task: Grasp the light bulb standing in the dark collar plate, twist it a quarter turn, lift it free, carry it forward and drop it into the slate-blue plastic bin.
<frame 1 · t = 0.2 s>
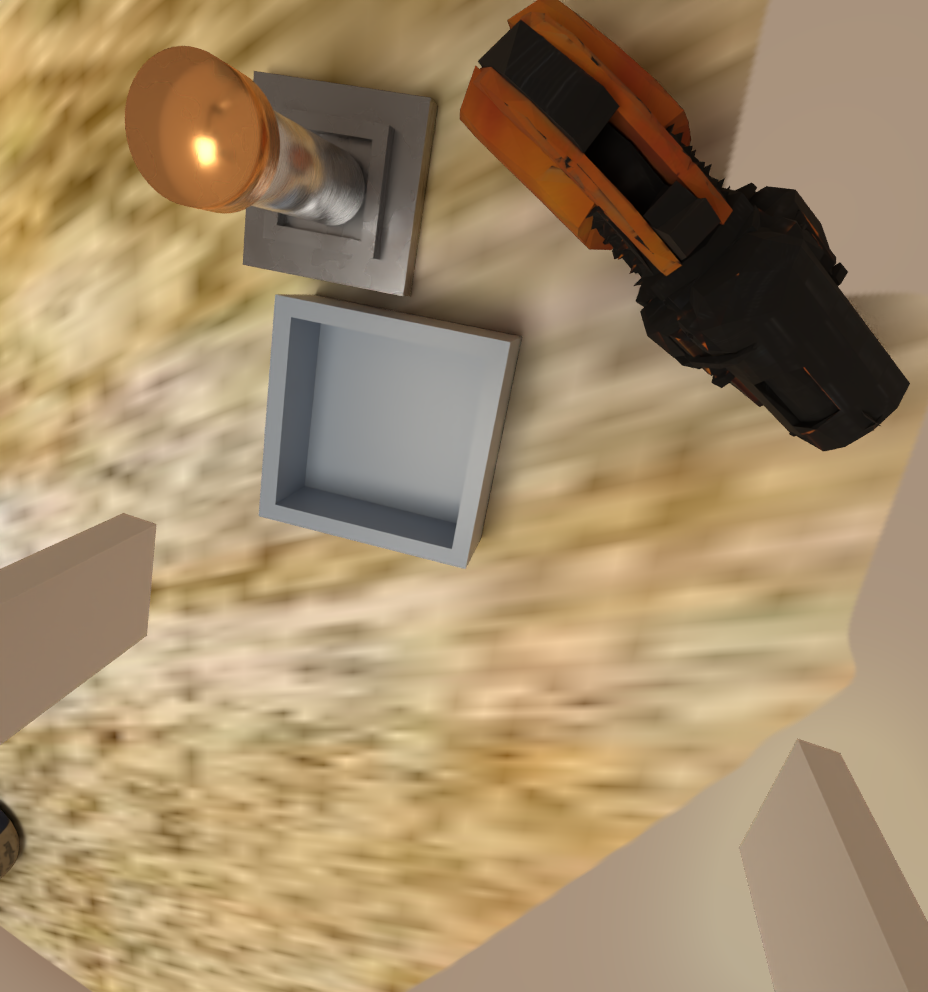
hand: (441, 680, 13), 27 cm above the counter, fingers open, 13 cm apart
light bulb: (330, 186, 35), point 1 cm above the counter, touching collar plate
tool: (671, 248, 34), on the counter
bin: (400, 420, 40), on the counter
collar plate: (340, 190, 37), on the counter
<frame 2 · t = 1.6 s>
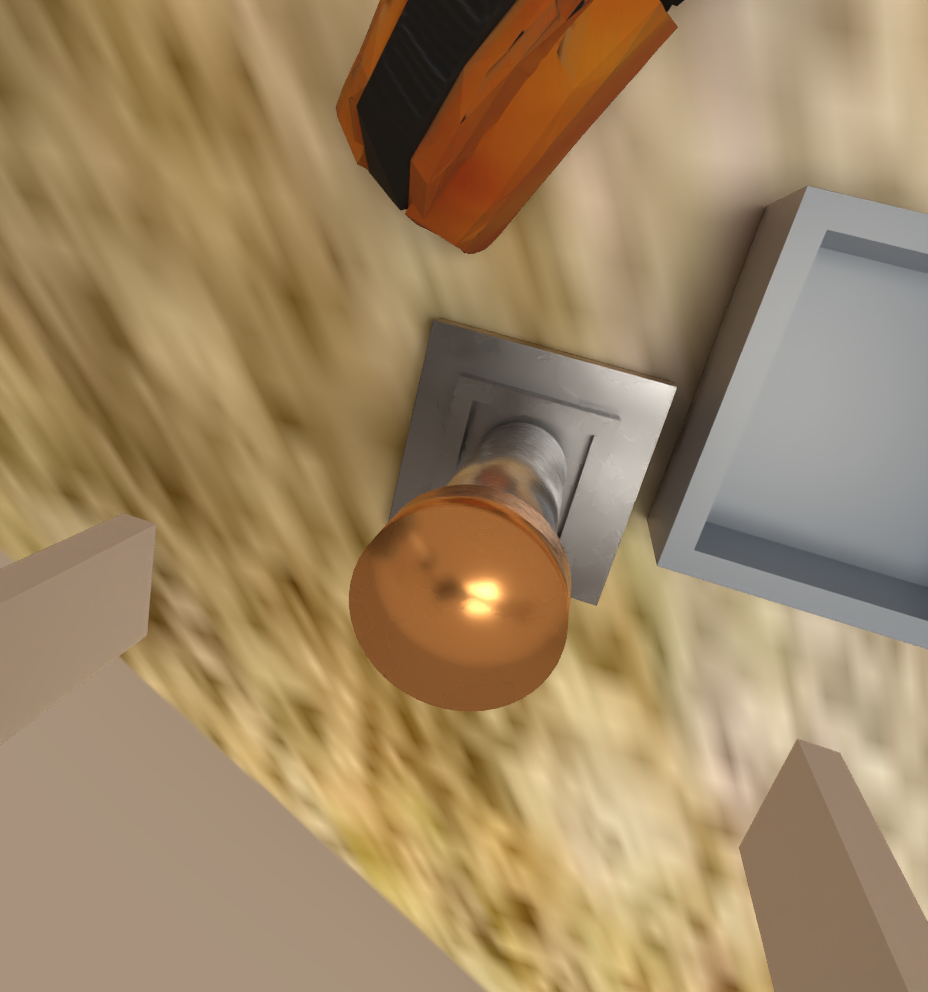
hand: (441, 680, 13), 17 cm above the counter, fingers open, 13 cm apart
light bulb: (518, 469, 27), point 1 cm above the counter, touching collar plate
bin: (864, 421, 25), on the counter
collar plate: (522, 460, 28), on the counter
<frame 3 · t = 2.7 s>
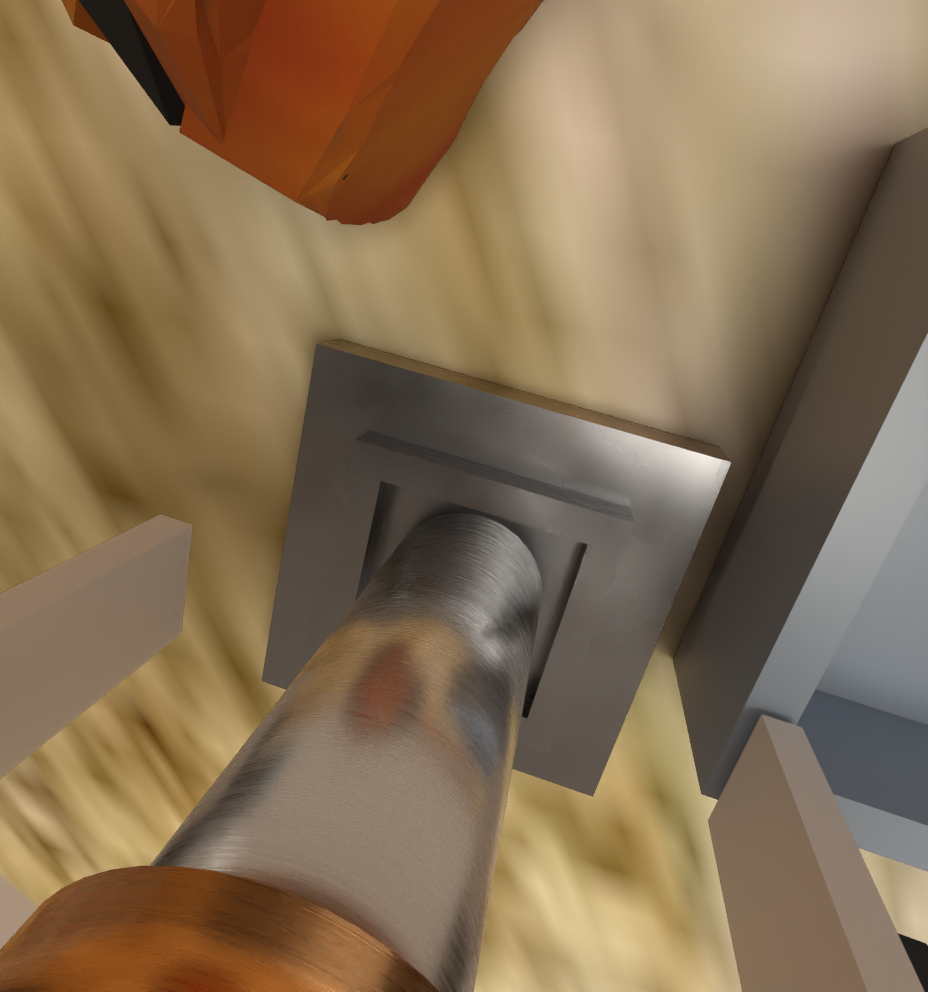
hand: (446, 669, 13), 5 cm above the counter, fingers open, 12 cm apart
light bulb: (464, 586, 16), point 1 cm above the counter, touching collar plate
collar plate: (474, 563, 18), on the counter
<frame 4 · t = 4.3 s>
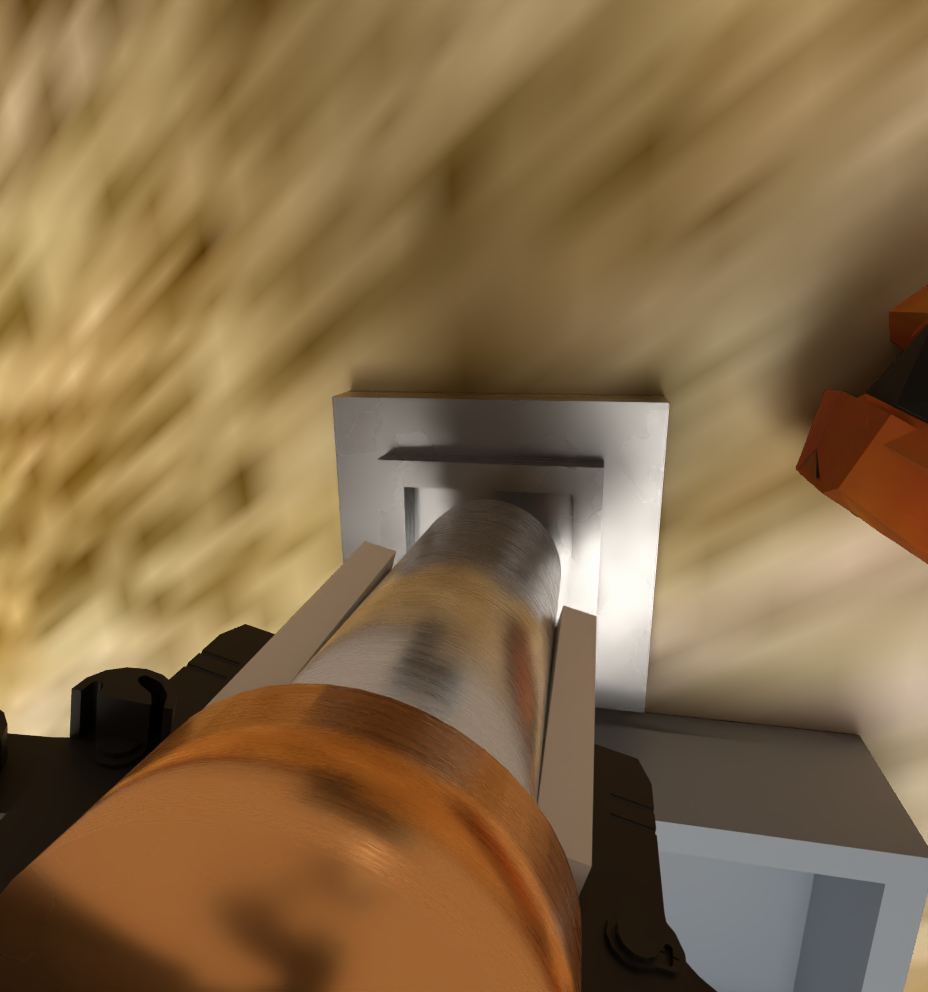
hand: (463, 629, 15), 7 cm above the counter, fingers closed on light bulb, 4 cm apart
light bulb: (487, 570, 18), point 4 cm above the counter, touching gripper
bin: (641, 862, 24), on the counter
collar plate: (498, 542, 21), on the counter
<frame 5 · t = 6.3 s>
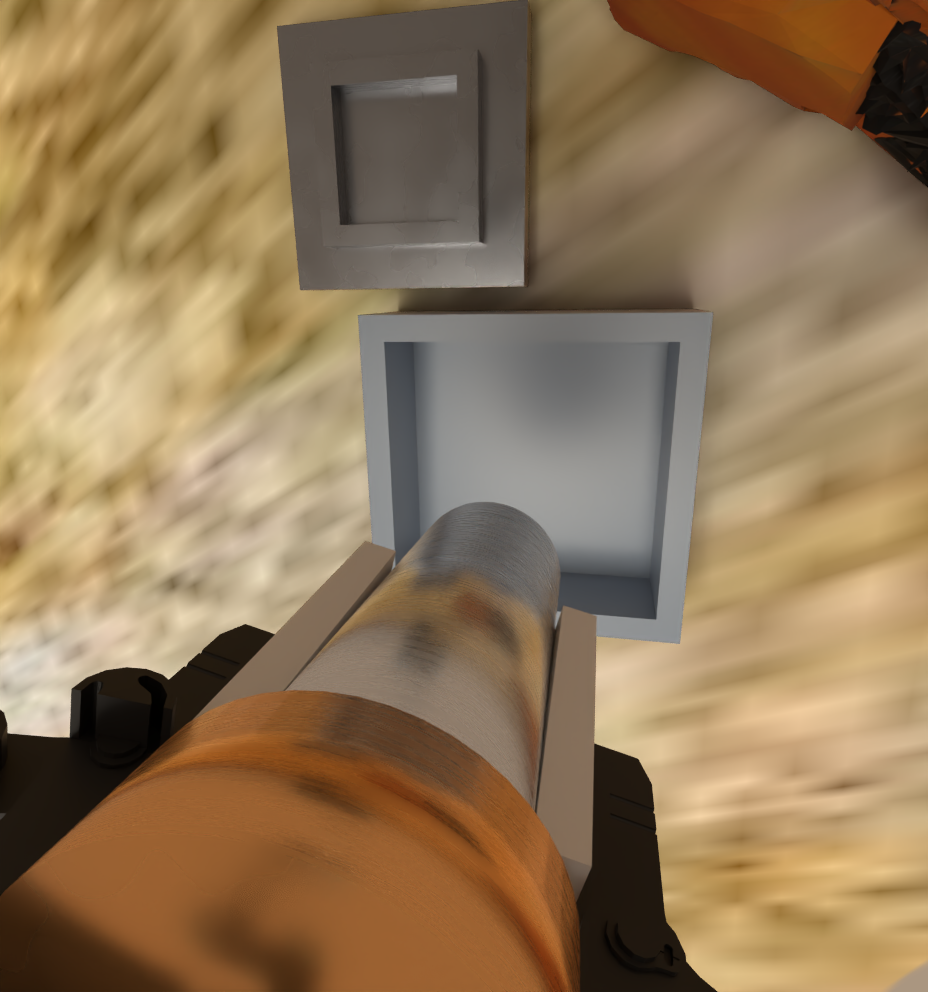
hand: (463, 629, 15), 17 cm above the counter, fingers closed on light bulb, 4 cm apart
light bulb: (487, 572, 17), point 13 cm above the counter, tilted 5°, touching gripper
tool: (913, 121, 24), on the counter
bin: (535, 454, 30), on the counter
collar plate: (413, 165, 27), on the counter
when the fingers open (5 cm above the counter, at t = 8.5 s): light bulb stays where it is, resting on bin.
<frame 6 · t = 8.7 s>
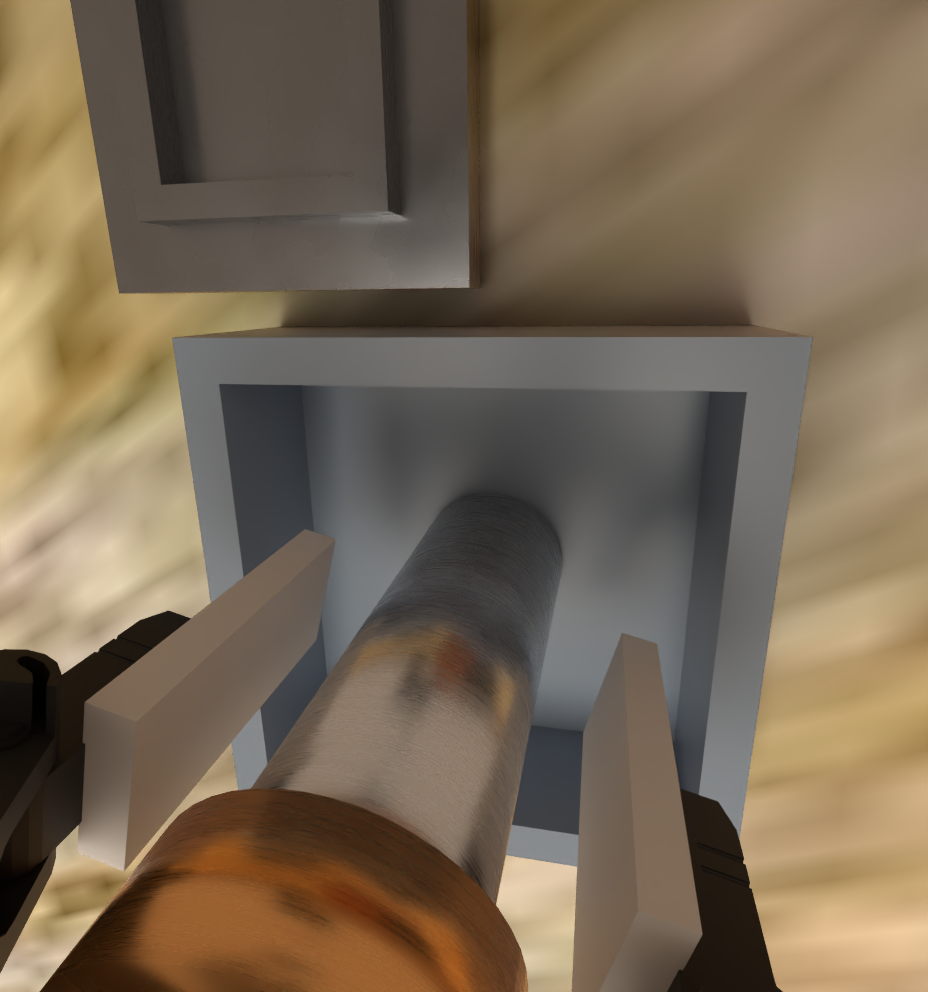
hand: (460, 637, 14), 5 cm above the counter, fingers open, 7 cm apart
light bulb: (491, 559, 18), point 1 cm above the counter, touching bin
bin: (497, 546, 19), on the counter
collar plate: (292, 91, 17), on the counter
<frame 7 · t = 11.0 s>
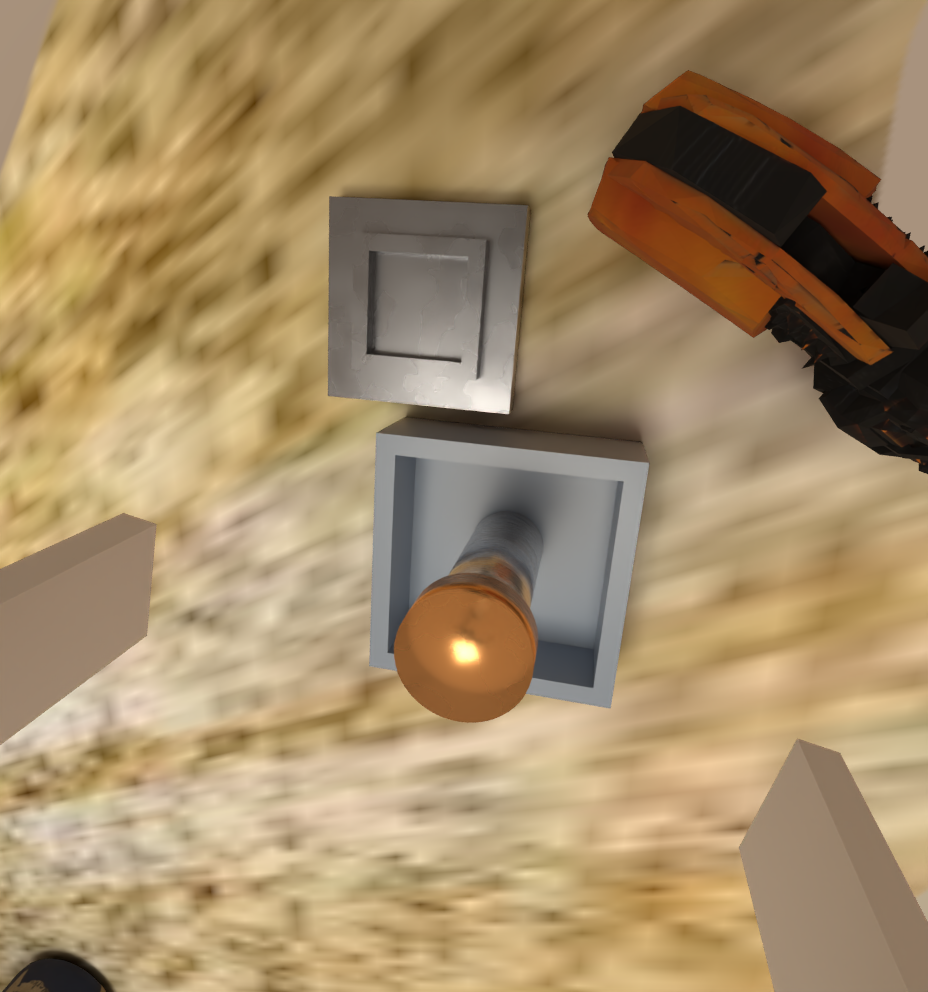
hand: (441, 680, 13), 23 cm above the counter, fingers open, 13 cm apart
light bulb: (507, 545, 36), point 1 cm above the counter, touching bin
tool: (819, 314, 31), on the counter
bin: (509, 540, 37), on the counter
collar plate: (428, 307, 34), on the counter
canister: (76, 987, 56), on the counter
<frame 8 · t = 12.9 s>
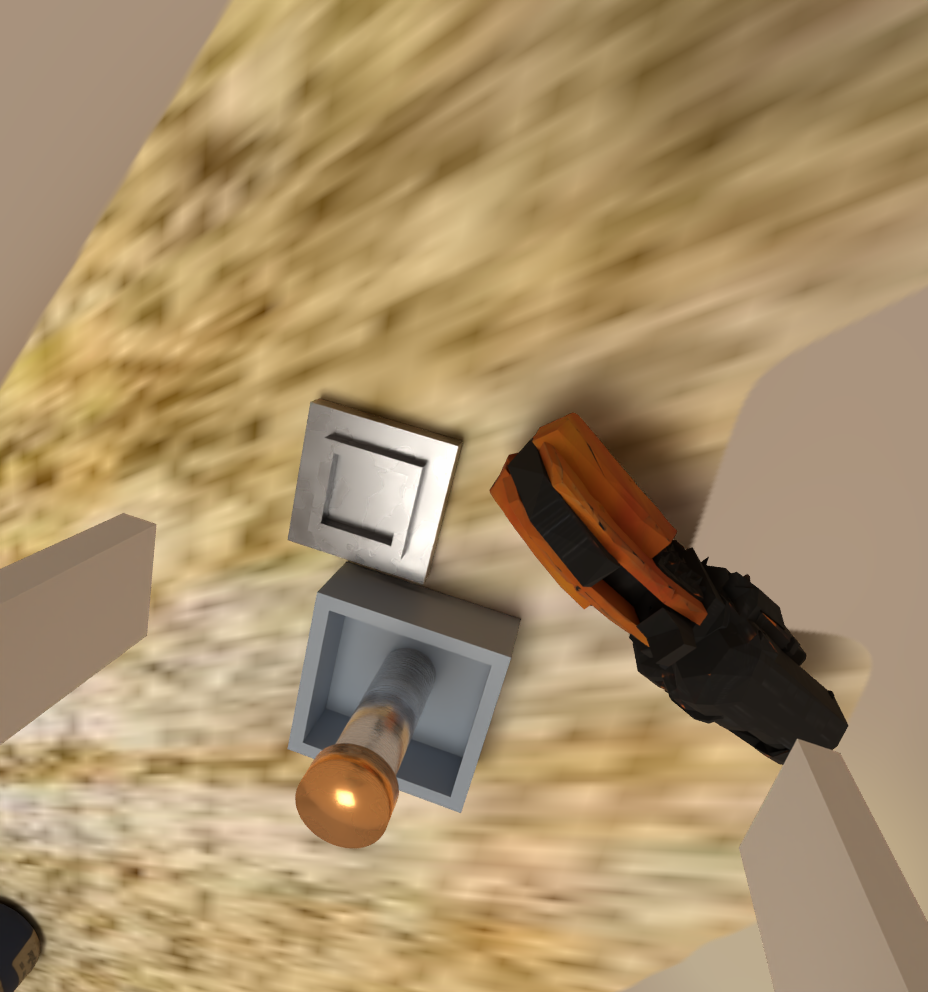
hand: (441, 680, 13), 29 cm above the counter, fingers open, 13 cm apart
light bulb: (409, 672, 46), point 1 cm above the counter, touching bin
tool: (661, 558, 41), on the counter
bin: (412, 665, 47), on the counter
collar plate: (375, 489, 43), on the counter
canister: (11, 926, 67), on the counter
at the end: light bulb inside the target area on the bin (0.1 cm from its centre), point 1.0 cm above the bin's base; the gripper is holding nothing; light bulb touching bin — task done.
